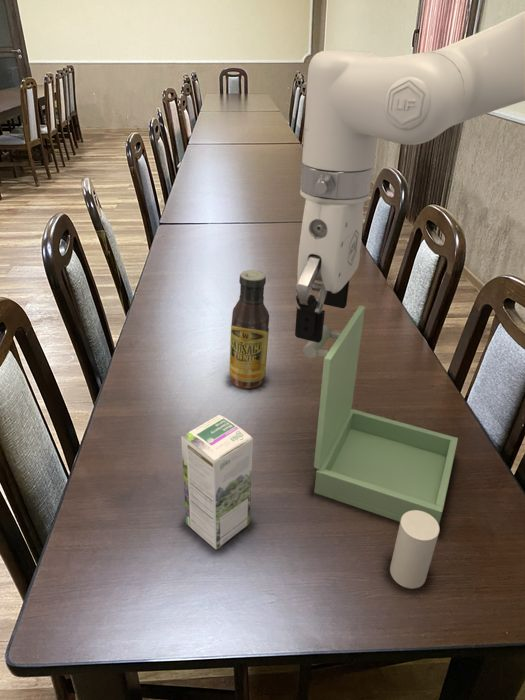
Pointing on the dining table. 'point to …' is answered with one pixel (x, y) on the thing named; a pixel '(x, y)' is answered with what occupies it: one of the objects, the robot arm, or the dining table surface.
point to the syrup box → (217, 479)
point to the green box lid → (336, 380)
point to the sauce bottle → (249, 332)
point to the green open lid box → (387, 467)
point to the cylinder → (414, 548)
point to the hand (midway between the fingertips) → (321, 321)
